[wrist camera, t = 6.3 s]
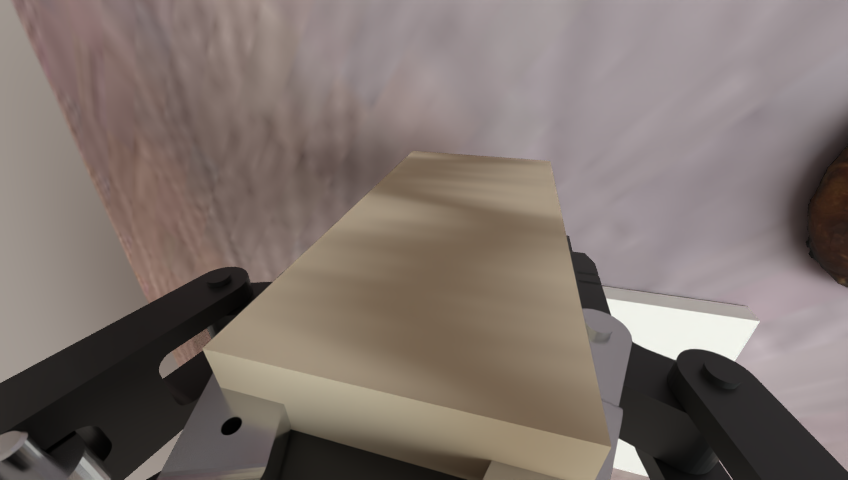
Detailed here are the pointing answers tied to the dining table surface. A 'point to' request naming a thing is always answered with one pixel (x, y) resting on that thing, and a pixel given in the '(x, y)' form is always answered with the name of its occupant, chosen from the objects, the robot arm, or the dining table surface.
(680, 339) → the pin board
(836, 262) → the bread roll
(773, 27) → the dining table surface
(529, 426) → the maple block
